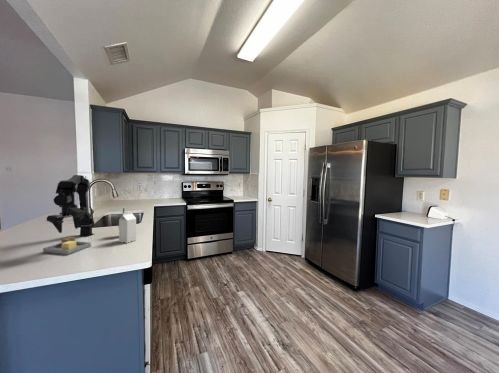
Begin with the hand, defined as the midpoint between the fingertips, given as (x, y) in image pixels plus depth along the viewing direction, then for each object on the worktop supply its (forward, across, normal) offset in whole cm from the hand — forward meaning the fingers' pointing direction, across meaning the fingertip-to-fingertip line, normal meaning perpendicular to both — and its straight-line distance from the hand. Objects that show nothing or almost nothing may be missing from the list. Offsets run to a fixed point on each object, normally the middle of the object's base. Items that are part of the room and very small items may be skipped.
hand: (68, 230), depth 122 cm
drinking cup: (+12, +32, -8) cm, 36 cm away
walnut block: (+11, +6, +7) cm, 15 cm away
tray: (+12, +2, +4) cm, 13 cm away
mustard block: (+11, 0, 0) cm, 11 cm away
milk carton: (+12, +24, -18) cm, 32 cm away
